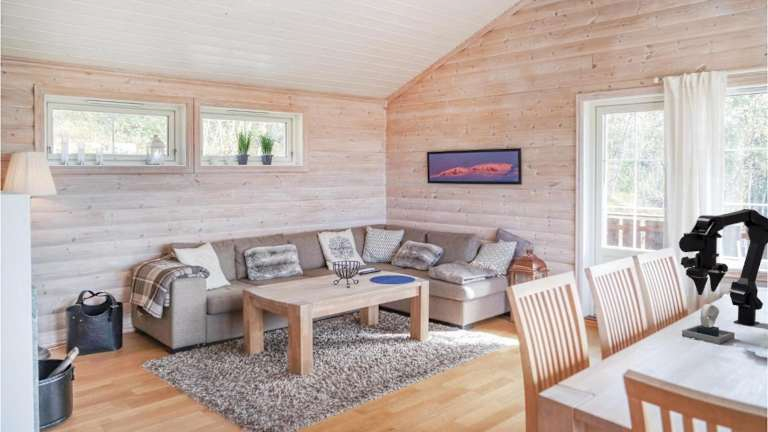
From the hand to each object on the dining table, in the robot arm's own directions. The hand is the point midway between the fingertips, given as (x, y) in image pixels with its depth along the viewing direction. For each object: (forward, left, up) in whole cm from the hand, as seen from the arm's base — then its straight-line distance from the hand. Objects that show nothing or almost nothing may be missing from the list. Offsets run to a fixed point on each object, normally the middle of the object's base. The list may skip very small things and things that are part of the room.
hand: (706, 293), depth 218 cm
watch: (+11, +6, -13) cm, 18 cm away
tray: (+10, +6, -13) cm, 18 cm away
